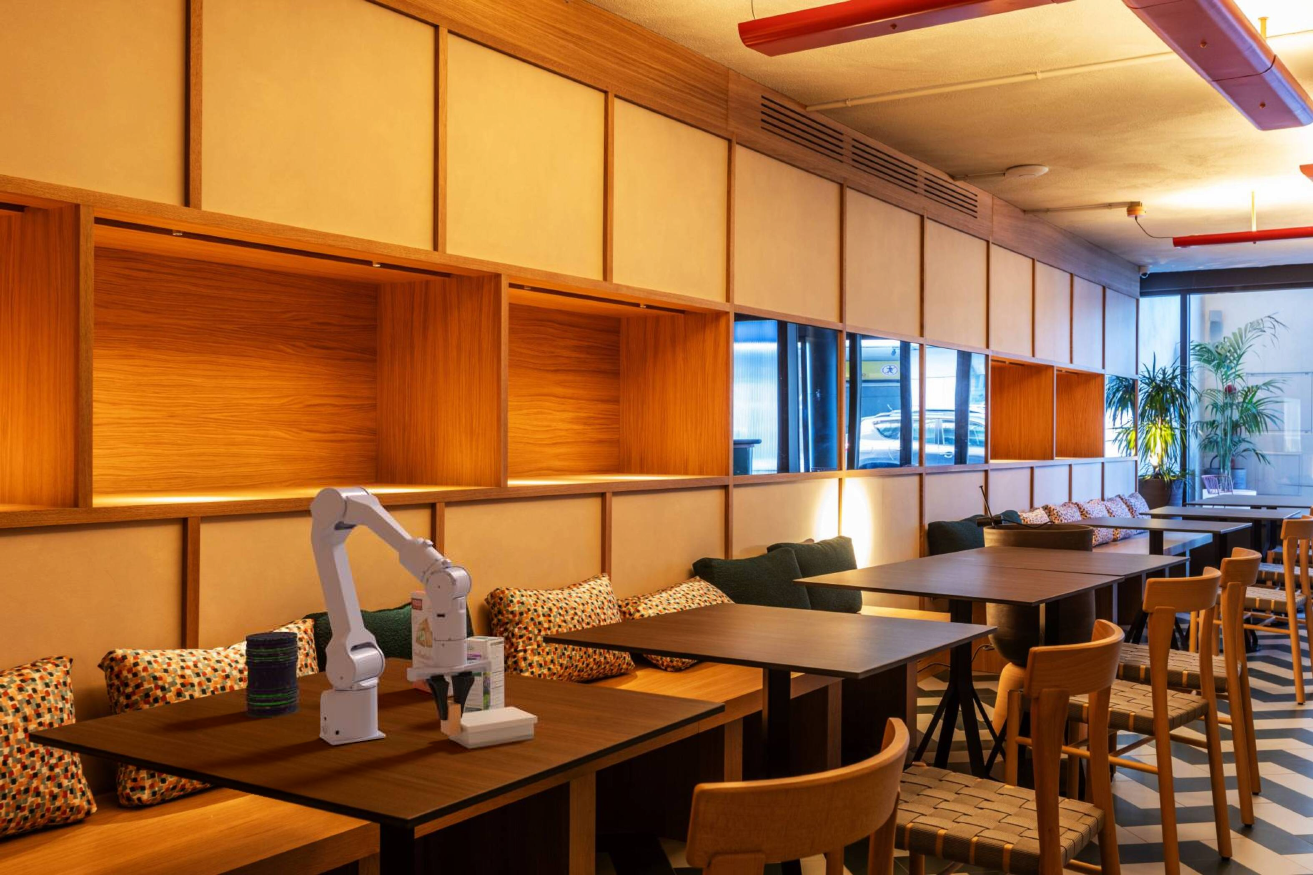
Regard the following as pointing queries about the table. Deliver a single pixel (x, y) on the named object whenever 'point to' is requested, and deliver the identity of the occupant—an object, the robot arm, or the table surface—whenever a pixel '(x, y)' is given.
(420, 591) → the cracker box
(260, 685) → the storage jar
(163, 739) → the table surface
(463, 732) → the tub
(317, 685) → the table surface
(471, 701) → the syrup box
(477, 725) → the lid
